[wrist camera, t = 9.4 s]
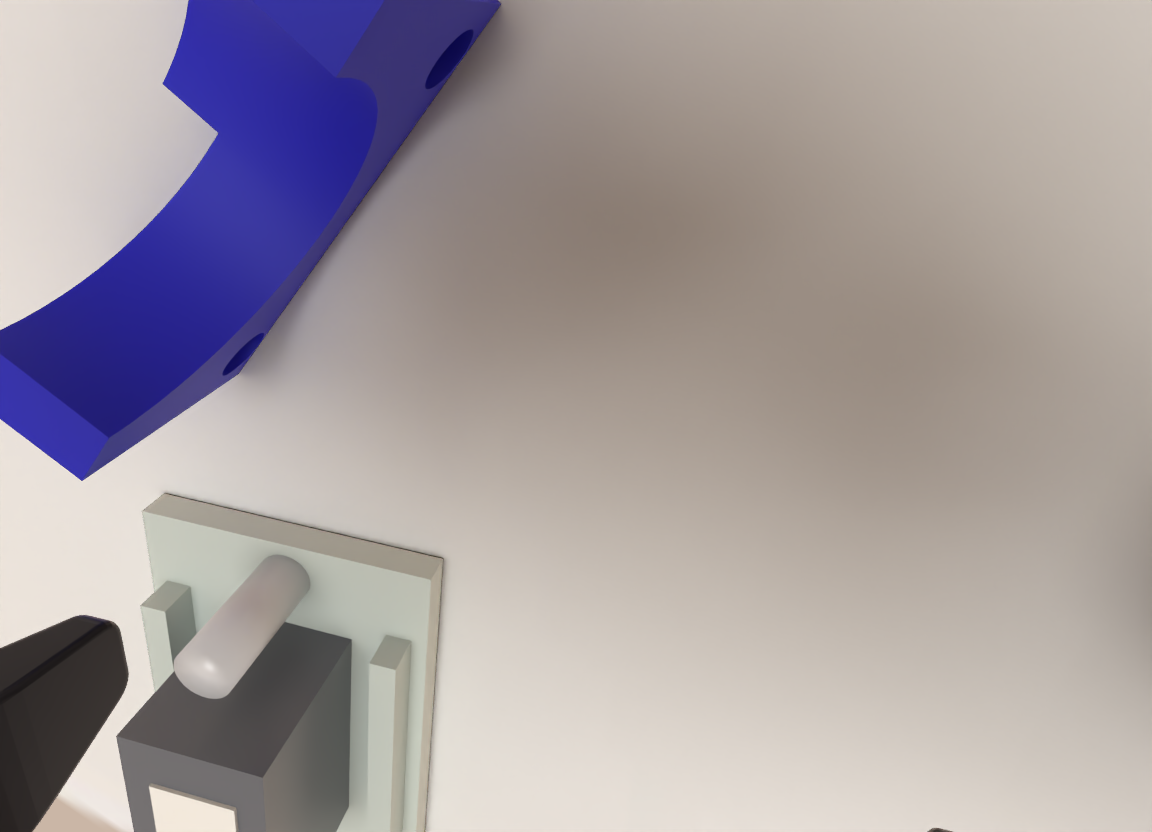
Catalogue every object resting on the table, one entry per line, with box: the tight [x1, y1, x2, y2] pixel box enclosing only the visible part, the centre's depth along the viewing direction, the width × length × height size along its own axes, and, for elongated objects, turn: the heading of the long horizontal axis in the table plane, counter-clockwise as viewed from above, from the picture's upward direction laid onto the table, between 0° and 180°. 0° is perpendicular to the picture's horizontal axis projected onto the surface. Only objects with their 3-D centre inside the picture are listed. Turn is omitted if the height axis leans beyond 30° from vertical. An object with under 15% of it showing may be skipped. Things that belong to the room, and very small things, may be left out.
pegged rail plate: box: [141, 494, 443, 832], centre depth 24 cm, size 9×14×5 cm, turn 172°
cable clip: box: [0, 0, 501, 481], centre depth 16 cm, size 12×4×6 cm, turn 139°
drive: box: [116, 622, 352, 832], centre depth 24 cm, size 4×8×5 cm, turn 171°
